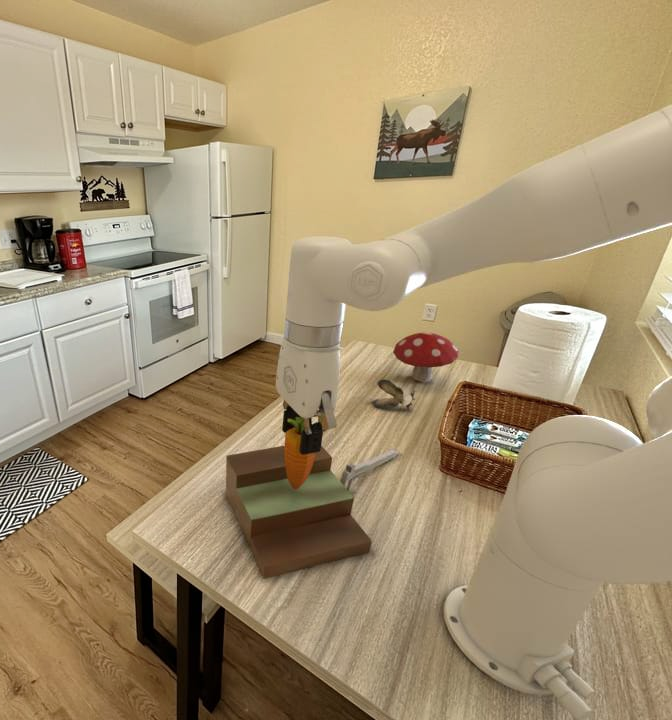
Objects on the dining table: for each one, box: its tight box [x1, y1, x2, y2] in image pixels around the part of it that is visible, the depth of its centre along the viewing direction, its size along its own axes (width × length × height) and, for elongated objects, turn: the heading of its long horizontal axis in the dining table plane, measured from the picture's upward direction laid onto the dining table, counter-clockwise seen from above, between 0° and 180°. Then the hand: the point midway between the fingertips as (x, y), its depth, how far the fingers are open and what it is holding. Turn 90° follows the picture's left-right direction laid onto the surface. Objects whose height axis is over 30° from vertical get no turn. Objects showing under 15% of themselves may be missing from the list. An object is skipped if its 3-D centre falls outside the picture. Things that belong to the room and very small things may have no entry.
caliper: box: [339, 449, 400, 492], centre depth 76 cm, size 20×1×6 cm, turn 127°
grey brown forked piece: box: [371, 378, 416, 411], centre depth 99 cm, size 8×7×9 cm
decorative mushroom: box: [392, 332, 460, 383], centre depth 110 cm, size 16×16×15 cm
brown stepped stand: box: [225, 445, 373, 579], centre depth 65 cm, size 18×18×9 cm
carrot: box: [284, 416, 315, 489], centre depth 61 cm, size 5×5×15 cm
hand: (300, 440), depth 60 cm, fingers closed on carrot, 5 cm apart
